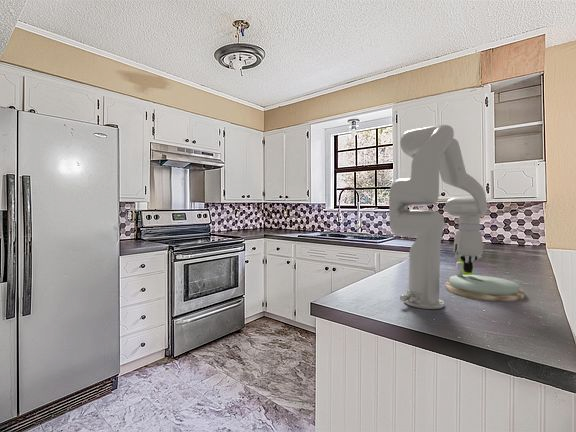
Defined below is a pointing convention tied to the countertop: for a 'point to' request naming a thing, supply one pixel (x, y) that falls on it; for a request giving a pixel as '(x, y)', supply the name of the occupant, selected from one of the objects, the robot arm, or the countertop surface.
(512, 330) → the countertop surface
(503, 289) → the dial
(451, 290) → the base
